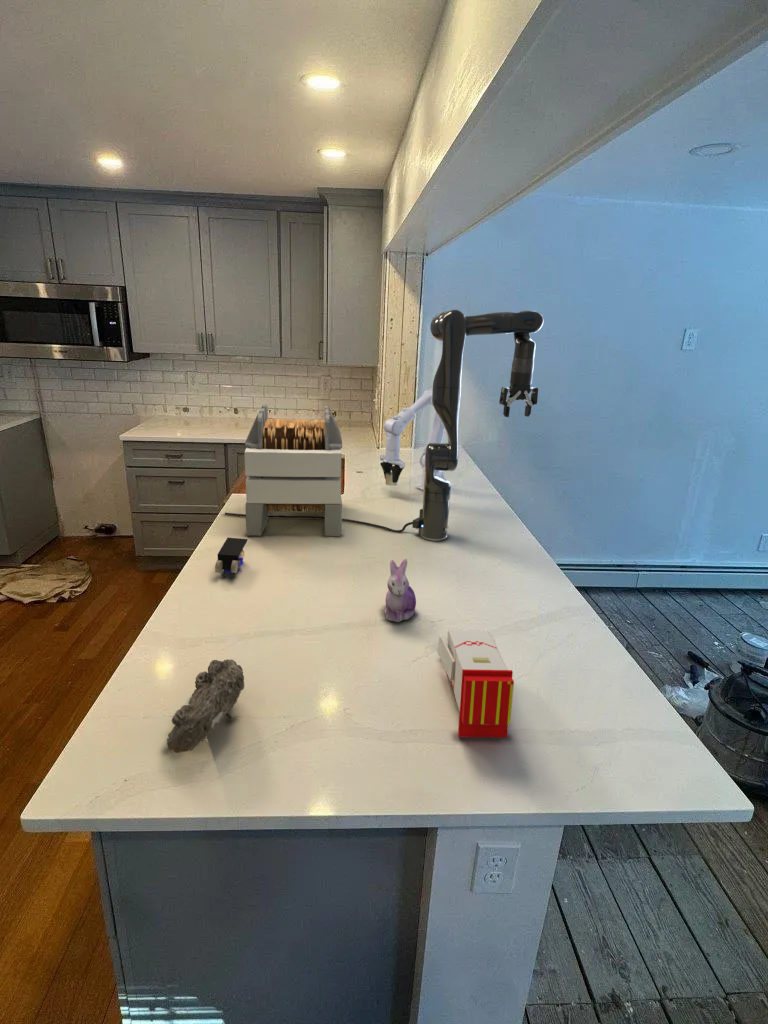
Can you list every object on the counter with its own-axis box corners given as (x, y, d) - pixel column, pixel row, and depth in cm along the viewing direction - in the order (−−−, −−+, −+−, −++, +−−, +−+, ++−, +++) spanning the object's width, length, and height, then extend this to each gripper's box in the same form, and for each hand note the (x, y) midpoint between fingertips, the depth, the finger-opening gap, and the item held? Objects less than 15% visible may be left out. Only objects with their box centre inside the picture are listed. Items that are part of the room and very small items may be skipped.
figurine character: (238, 584, 162) (249, 557, 175) (236, 562, 158) (247, 536, 172) (215, 584, 161) (227, 556, 175) (212, 561, 158) (225, 535, 171)
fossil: (192, 660, 117) (244, 628, 112) (224, 691, 120) (276, 661, 115) (142, 746, 98) (202, 712, 93) (182, 779, 101) (242, 748, 96)
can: (393, 482, 240) (394, 471, 238) (398, 485, 236) (399, 474, 234) (383, 482, 238) (384, 472, 236) (388, 486, 234) (388, 475, 232)
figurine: (392, 627, 141) (395, 572, 136) (374, 608, 149) (376, 556, 144) (425, 619, 145) (429, 566, 140) (405, 601, 154) (408, 550, 149)
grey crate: (255, 503, 223) (251, 399, 209) (338, 504, 226) (340, 401, 213) (245, 536, 191) (239, 416, 177) (342, 536, 195) (344, 418, 181)
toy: (488, 613, 130) (523, 677, 101) (484, 667, 133) (517, 744, 104) (435, 612, 130) (455, 676, 101) (432, 666, 133) (451, 743, 103)
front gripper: (533, 369, 205) (527, 414, 211) (499, 369, 201) (494, 415, 206) (545, 372, 199) (539, 418, 204) (510, 371, 194) (504, 418, 200)
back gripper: (374, 446, 235) (373, 477, 239) (396, 453, 224) (394, 486, 228) (387, 444, 239) (386, 475, 243) (409, 451, 228) (407, 484, 233)
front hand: (516, 416), depth 205 cm, fingers open, 8 cm apart
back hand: (391, 480), depth 236 cm, fingers closed on can, 5 cm apart
